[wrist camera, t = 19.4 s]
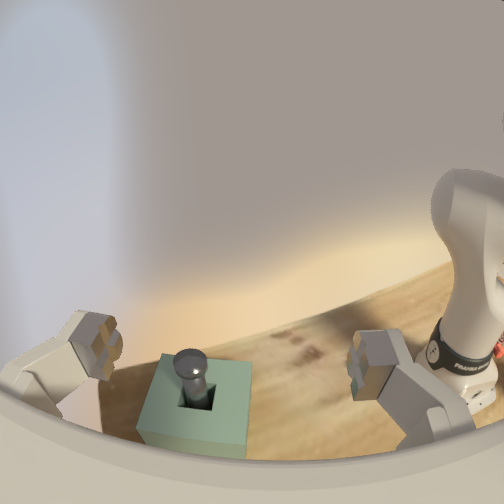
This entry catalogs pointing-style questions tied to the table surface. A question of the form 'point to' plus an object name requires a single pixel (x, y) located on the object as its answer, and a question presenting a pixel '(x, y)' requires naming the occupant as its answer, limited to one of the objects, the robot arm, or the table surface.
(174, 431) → the socket block
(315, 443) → the table surface
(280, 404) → the table surface
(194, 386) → the pin
